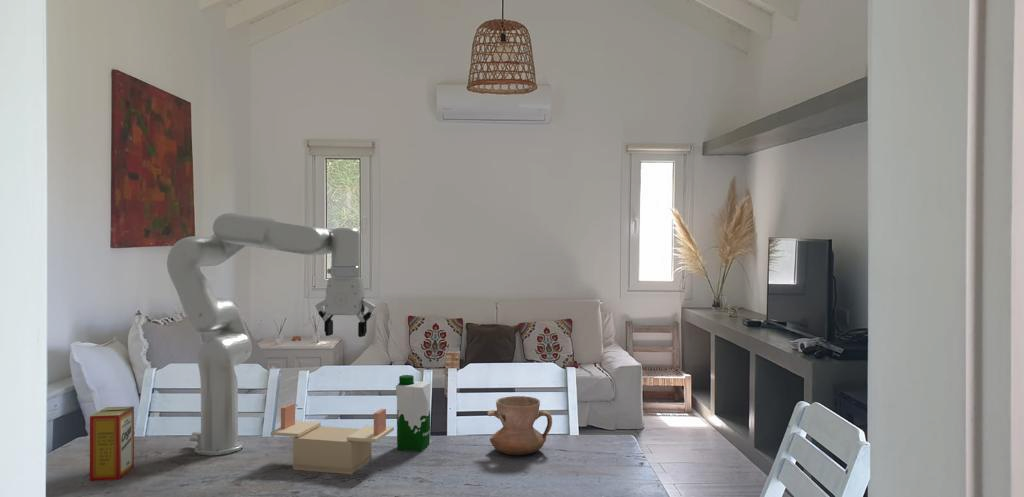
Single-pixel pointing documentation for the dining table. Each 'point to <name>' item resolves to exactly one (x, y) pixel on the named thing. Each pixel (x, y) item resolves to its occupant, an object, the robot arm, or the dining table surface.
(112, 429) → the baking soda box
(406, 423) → the soya milk
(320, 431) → the carton
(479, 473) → the dining table surface
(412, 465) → the dining table surface
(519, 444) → the ceramic jug
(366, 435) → the flap
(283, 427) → the flap
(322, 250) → the robot arm
